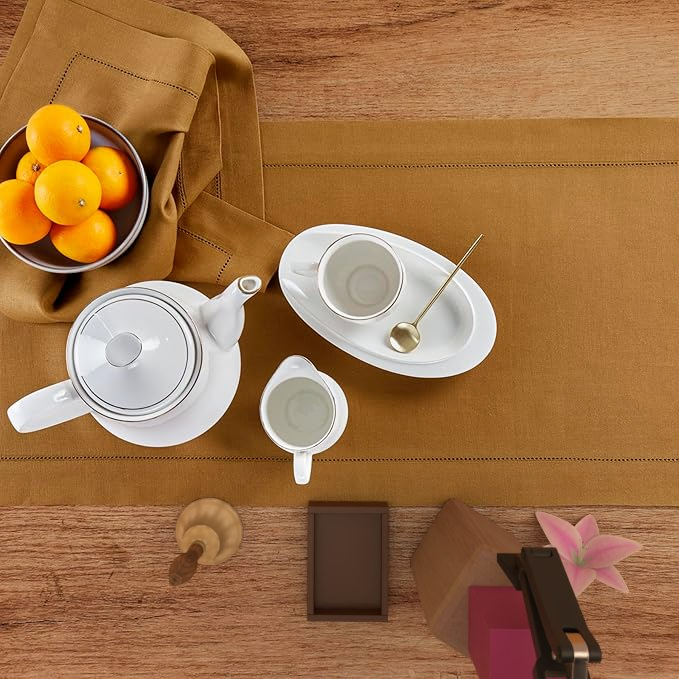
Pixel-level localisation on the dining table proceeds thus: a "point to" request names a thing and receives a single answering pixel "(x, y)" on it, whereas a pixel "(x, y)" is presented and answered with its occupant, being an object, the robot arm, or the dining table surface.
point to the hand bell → (204, 537)
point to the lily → (587, 551)
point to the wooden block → (458, 568)
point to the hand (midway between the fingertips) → (512, 636)
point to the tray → (347, 561)
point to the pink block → (499, 633)
